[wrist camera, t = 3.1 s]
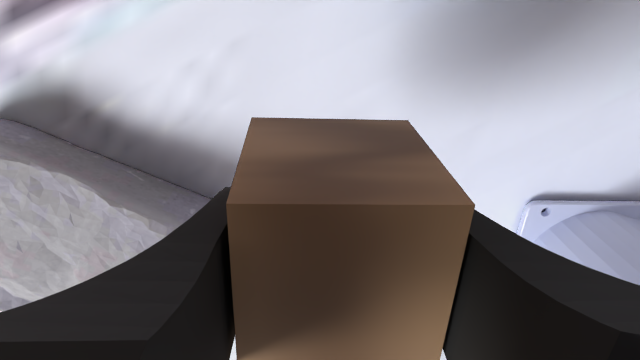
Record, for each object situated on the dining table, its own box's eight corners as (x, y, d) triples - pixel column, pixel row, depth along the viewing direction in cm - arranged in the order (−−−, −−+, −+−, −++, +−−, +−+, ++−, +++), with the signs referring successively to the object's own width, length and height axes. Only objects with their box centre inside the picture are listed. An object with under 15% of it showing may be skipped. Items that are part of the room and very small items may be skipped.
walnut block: (407, 120, 12) (475, 205, 8) (390, 248, 14) (436, 375, 10) (251, 117, 12) (226, 203, 7) (256, 249, 14) (238, 380, 9)
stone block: (188, 303, 26) (242, 194, 21) (159, 376, 22) (216, 266, 17) (-11, 232, 24) (-8, 88, 18) (-82, 301, 20) (-106, 144, 15)
